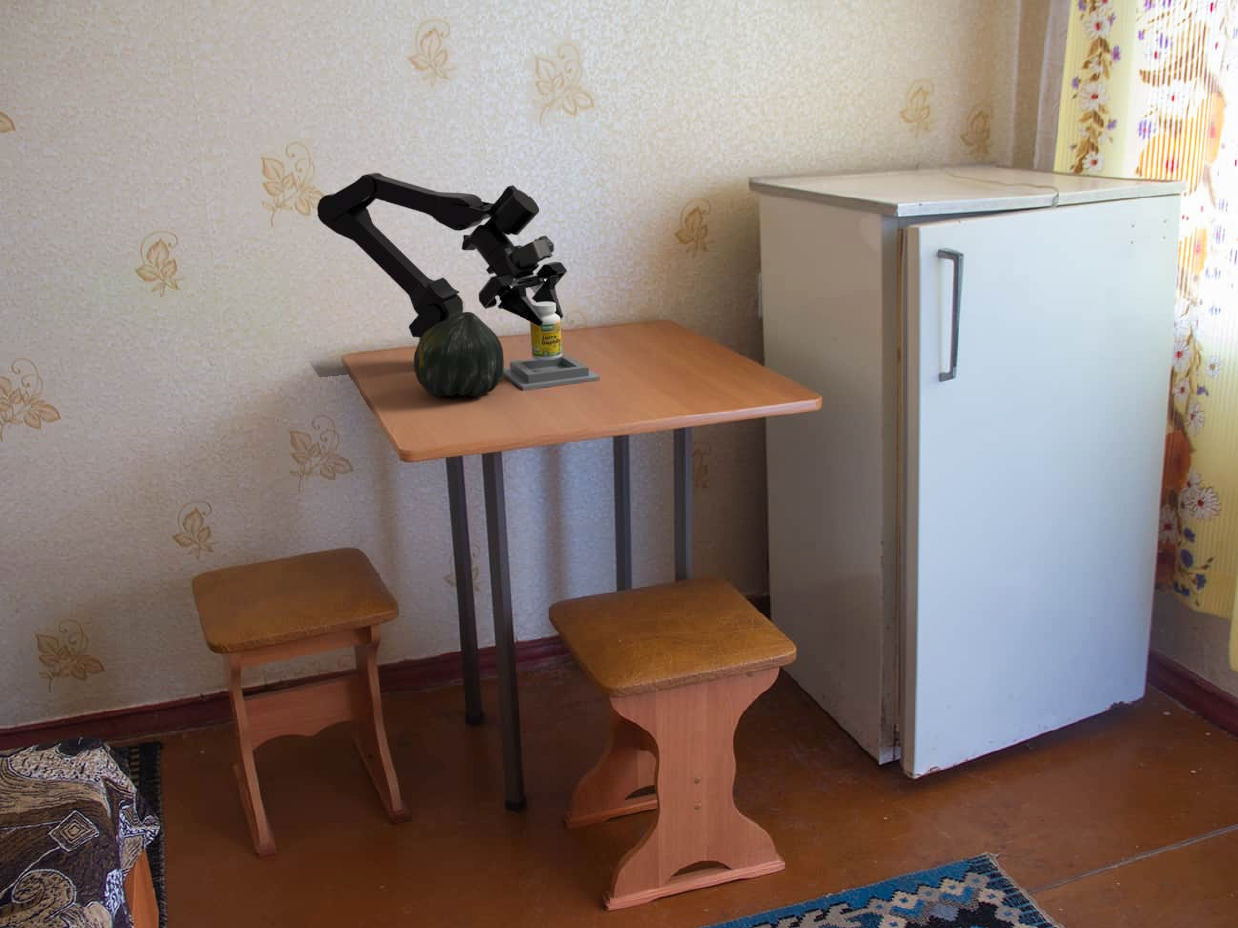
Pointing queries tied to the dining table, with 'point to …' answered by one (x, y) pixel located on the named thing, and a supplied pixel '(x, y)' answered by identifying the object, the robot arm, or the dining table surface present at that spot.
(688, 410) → the dining table surface
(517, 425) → the dining table surface
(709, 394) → the dining table surface
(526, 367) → the tray
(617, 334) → the dining table surface
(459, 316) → the squash
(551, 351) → the supplement bottle
